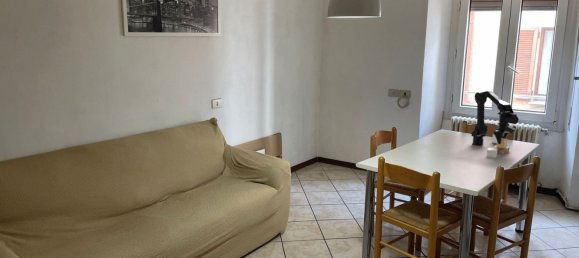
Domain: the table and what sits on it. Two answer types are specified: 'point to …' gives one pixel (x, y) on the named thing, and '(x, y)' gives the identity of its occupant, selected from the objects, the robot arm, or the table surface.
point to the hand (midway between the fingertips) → (501, 143)
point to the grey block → (492, 152)
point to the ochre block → (502, 143)
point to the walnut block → (502, 150)
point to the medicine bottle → (495, 138)
